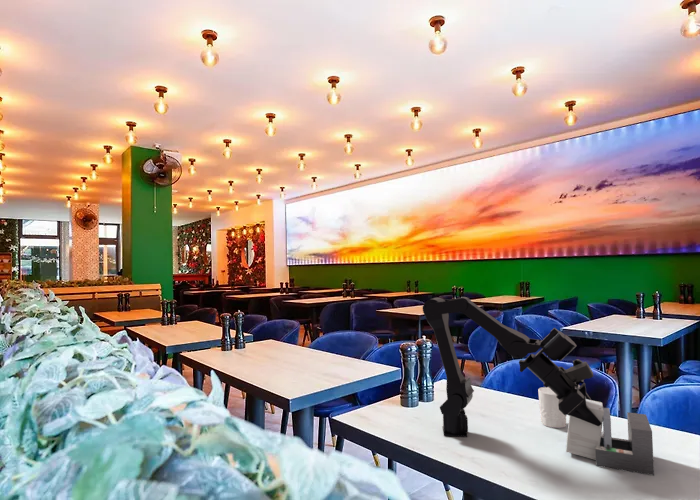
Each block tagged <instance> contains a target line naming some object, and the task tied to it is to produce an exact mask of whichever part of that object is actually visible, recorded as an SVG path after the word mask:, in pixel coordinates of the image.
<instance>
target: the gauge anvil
mask: <svg viewBox="0 0 700 500" xmlns="http://www.w3.org/2000/svg"><path fill="white" fill-rule="evenodd" d="M626 415H627V416H626V417H627V434H628V435H627V437H628V439H624V438H619V437H612V436H611V439H612V448H610V449H607V447H604V435H601V440H600V446H595V447H596V460H595V465H596V467H600V468H601V467H602V468H606V469H613V470H618V471H623V472H629V473H638V474H643V475H650V476H655V468H654V446H653V444H654V443H653V430H652V427H651V424H650V422H649V419H648V416H647V414H645V413H636V412H627V413H626Z"/></svg>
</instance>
